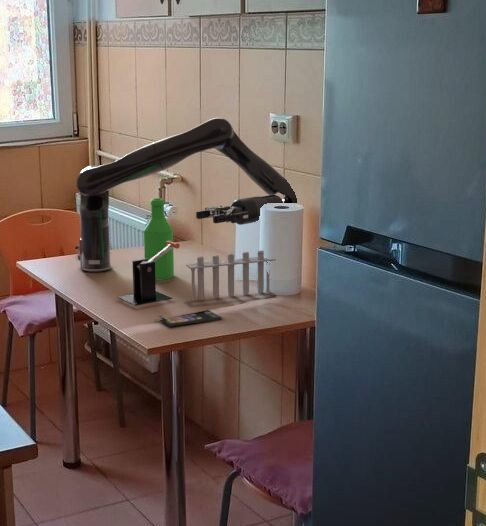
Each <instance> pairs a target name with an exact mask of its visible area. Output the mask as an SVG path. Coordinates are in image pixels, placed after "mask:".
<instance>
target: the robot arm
mask: <svg viewBox="0 0 486 526" xmlns="http://www.w3.org/2000/svg"><path fill="white" fill-rule="evenodd" d="M211 149H214V150H216V151H218V152H219V153H221V154H223V155H224V156H226V157H227V158H228V159H229V160H231V161H232V162H233V163H235V165H236V166H238V167H239V168H240V169H241V170H242V172H243V173H245V175H246V176H248V177H249V179H251V180H252V182H253V183H255V184H256V186H257V187H259V189H261V190H262V191H263V192H264V193H265V194H266V195H262V196H250V197H245V198H244V197H243V198H238V199H235V200H234V201H233V202H232V204H231V205H224V206H223V205H216V206H215V205H214V206H209V207H204V209H203V210H197V211H196V212H195V215H196V216H195V218H196V219H197V220H202V219H211V218H212V223H213V224H221V223H226V224H229V223H231V224H237V225H240V226H243V225H247V224H249V225H250V224H253V222H254V223H257V222H256V221H258V220H259V216H260V208H261V207H262V206H263V205H264V204H267V203H283V202H284V203H297V198H296V195H295V192H294V191H293V189H292V188H291V186H290V184H289V183H288V182H287V180H286V179H287V178H286V177H284V176H283V175H282V174H281V173H280V172H278V170H276V169H275V168H274V166H272V165H271V164H270V163H269V162H267V161H266V160H265V159H264V158H262V157H260V156H259V155H258V154H257V153H256V152H254V151H253V150H252V149H251V148H249V147H248V145H247V144H245V143H244V142H243V140H242V139H241V138H240V137H239V135H238V134H237V132H236V131H235V130H234V127H233V126H232V124H231V123H230V122H229V121H228V120H227V119H225V118H224V117H213V118H210V119H208V120H206V121H204V122H203V123H201V124H199V125H197V126H195V127H192V128H191V129H189V130H187V131H184V132H182V133H177V134H175V135H171V136H168V137H165V138H162V139H159V140H156V141H152V142H150V143H148V144H145V145H143V146H140V147H138V148H136V149H134V150H133V151H131V152H129V153H126V154H125V155H124V156H122V157H120V158H119V159H117V160H114V161H112V162H109V163H106V164H103V165H99V166H98V165H96V164H95V165H94V164H92V165H88V166H86V167H85V168H83V169H82V170H81V171H80V172H79V174H78V176H77V178H76V182H75V185H76V189H77V191H78V192H79V197H80V203H79V228H80V229H79V231H80V239H78V240H79V241H78V243H79V244H76V245H75V247H74V248H75V250H78V251H79V252H78V254H77V258H78V259H79V261H80V263H79V264H80V269H81V270H82V271H84V272H88V273H101V272H106V271H109V270H111V269H112V264H111V241H110V240H111V239H110V221H109V220H110V219H109V217H110V215H109V211H110V210H109V209H110V190H111V189H114V188H116V187H118V186H120V185H122V184H125V183H128V182H133V181H136V180H140V179H142V178H145V177H146V178H147V177H148V176H152V175H154V174H157V173H160V172H162V171H165V170H168V169H170V168H172V167H173V166H175V165H177V164H179V163H181V162H182V161H184V160H185V159H188V157H190V156H191V157H192V156H193V155H195V154H198V153H201V152H204V151H208V150H211ZM285 178H286V179H285ZM277 194H280V195H283V196H284V197H283V198H281V196H279V195H277Z"/></svg>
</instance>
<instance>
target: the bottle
mask: <svg viewBox="0 0 486 526" xmlns="http://www.w3.org/2000/svg"><path fill="white" fill-rule="evenodd" d="M165 204H166V203H165V200H164V198H161V197H155V198H152V199H150V210H151V211H150V212H151V213H150V214H151V215H150V216H151V218H150V219H149V221H148V223H147V224H146V226H145V227H144V229H143V250H144V251H143V253H144V256H143V257H144V259H145V258H146V259H148V261H149V260H150V259H151V258H153V257H154V256H155V255H156V254H158V253H159V252H160V251H161V250H163V249H164V248H165V247H166V246H167V245H166V242H167V241H172V242H174V228H173V227H172V226H171V224H170V223H169V222H168V220H167V219H166V217H165ZM174 259H175V258H174V247H173V248H172V249H170V250H169V251H168V252H167V253H165V254H164V255H163V256H162V257H160V258H159V259H158V260H157V261H155V279H156V281H163V280H169V279H172V278H174V276H175V261H174Z"/></svg>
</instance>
